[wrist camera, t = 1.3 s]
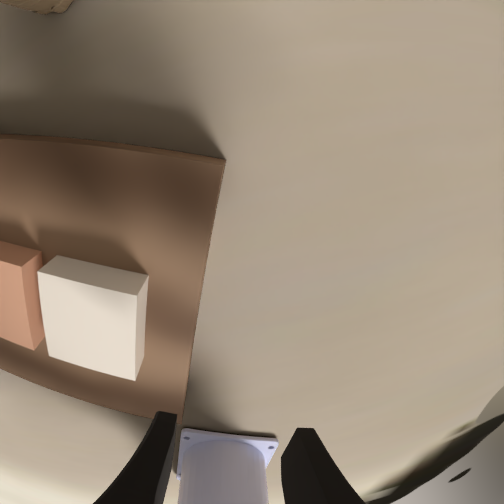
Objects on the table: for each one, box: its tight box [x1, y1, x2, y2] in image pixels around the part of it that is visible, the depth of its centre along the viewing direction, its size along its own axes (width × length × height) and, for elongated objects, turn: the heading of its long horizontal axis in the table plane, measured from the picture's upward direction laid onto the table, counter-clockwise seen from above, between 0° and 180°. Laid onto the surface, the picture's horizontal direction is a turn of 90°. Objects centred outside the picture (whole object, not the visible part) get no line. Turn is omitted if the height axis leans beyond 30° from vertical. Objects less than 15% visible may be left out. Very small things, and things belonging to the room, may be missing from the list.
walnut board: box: [0, 134, 226, 424], centre depth 16 cm, size 16×15×3 cm
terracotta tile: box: [0, 241, 45, 350], centre depth 13 cm, size 5×5×2 cm
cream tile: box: [37, 255, 149, 381], centre depth 14 cm, size 5×5×2 cm
